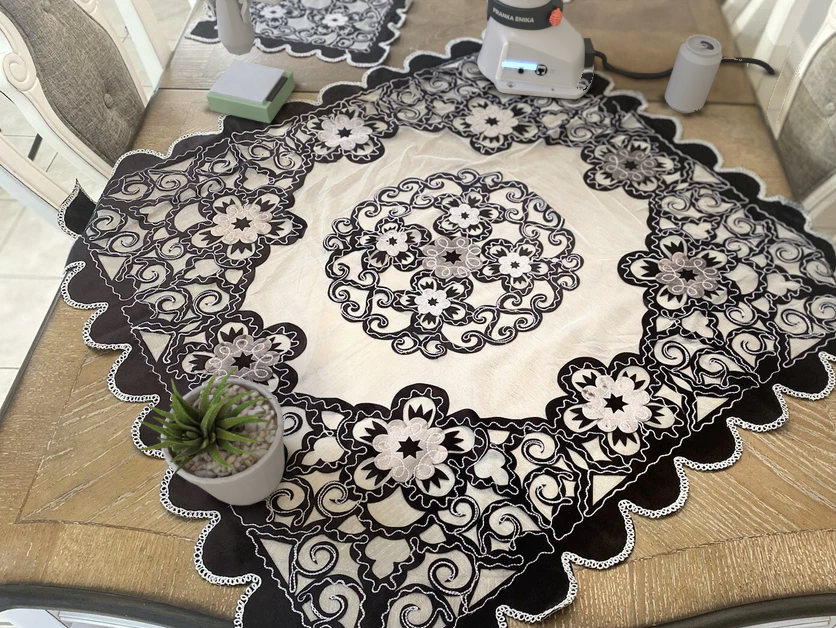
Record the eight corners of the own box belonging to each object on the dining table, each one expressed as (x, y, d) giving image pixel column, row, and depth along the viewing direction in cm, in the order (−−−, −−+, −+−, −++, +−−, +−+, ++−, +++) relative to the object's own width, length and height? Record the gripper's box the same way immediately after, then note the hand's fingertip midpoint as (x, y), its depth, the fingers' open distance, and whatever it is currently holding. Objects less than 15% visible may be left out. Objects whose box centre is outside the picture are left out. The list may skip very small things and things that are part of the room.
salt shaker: (262, 40, 114) (244, -40, 103) (252, 60, 110) (233, -21, 99) (228, 36, 114) (206, -45, 103) (217, 56, 110) (194, -25, 100)
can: (711, 107, 126) (734, 48, 116) (682, 120, 124) (704, 60, 114) (683, 86, 130) (704, 26, 120) (654, 98, 127) (674, 38, 117)
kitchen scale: (295, 86, 122) (291, 68, 119) (270, 123, 116) (265, 105, 113) (238, 74, 123) (233, 56, 120) (210, 110, 117) (205, 92, 114)
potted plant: (191, 428, 84) (132, 336, 67) (304, 424, 85) (273, 332, 69) (174, 525, 77) (103, 450, 60) (296, 520, 78) (260, 444, 62)
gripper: (285, -72, 97) (301, 20, 109) (154, -98, 99) (183, -4, 110) (267, -52, 94) (285, 42, 105) (131, -79, 95) (164, 16, 107)
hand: (232, 18), depth 108 cm, fingers closed on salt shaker, 3 cm apart
